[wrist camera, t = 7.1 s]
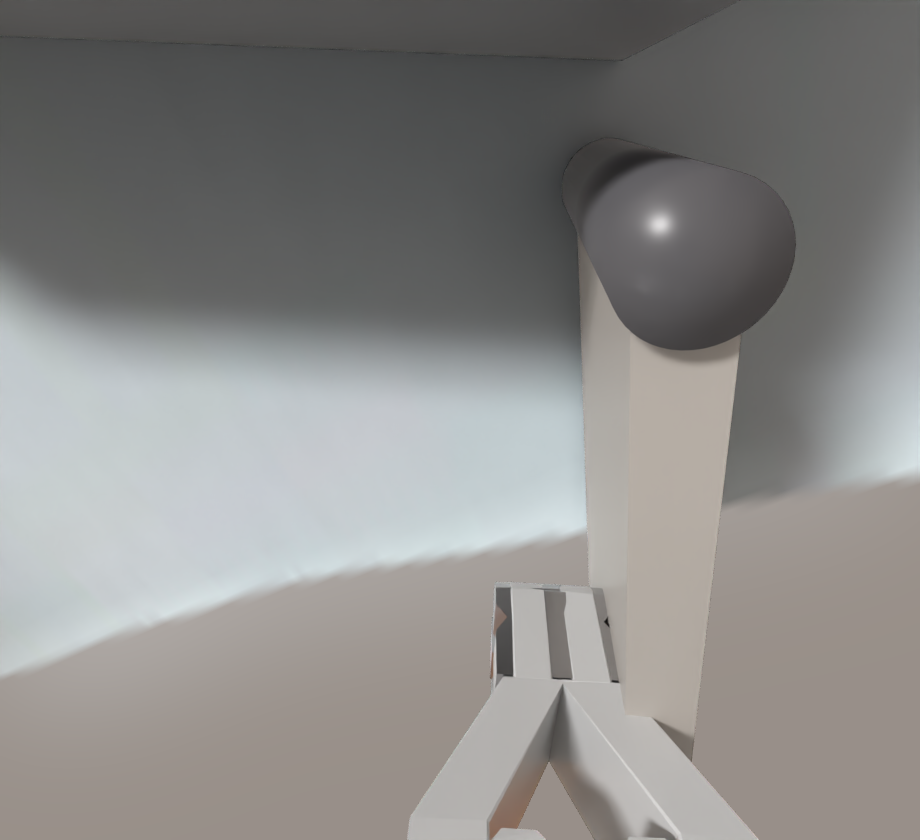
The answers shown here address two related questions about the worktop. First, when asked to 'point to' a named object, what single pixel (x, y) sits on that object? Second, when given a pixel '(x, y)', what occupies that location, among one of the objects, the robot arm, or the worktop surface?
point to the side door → (664, 393)
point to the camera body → (371, 24)
